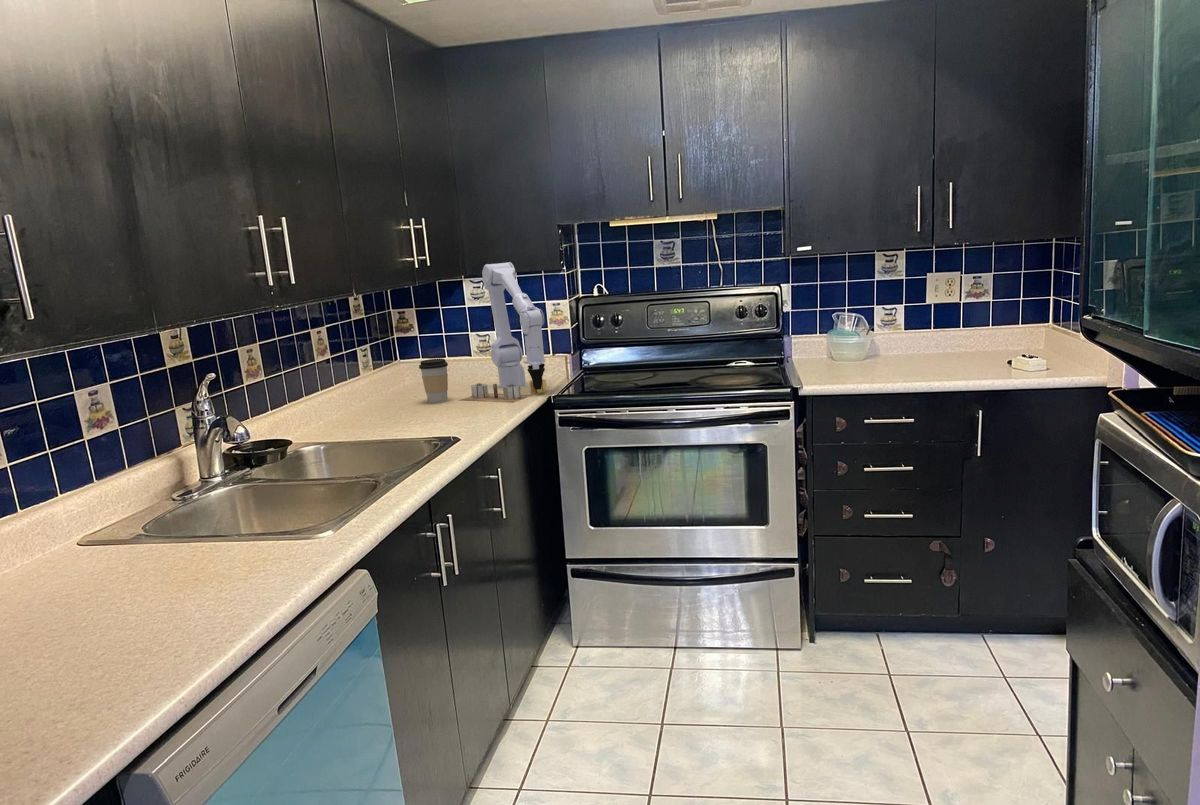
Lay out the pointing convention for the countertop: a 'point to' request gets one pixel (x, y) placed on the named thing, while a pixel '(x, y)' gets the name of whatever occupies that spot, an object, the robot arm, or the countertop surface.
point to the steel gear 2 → (511, 392)
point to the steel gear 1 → (479, 391)
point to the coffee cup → (435, 379)
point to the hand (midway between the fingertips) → (538, 387)
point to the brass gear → (539, 391)
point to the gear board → (495, 396)
